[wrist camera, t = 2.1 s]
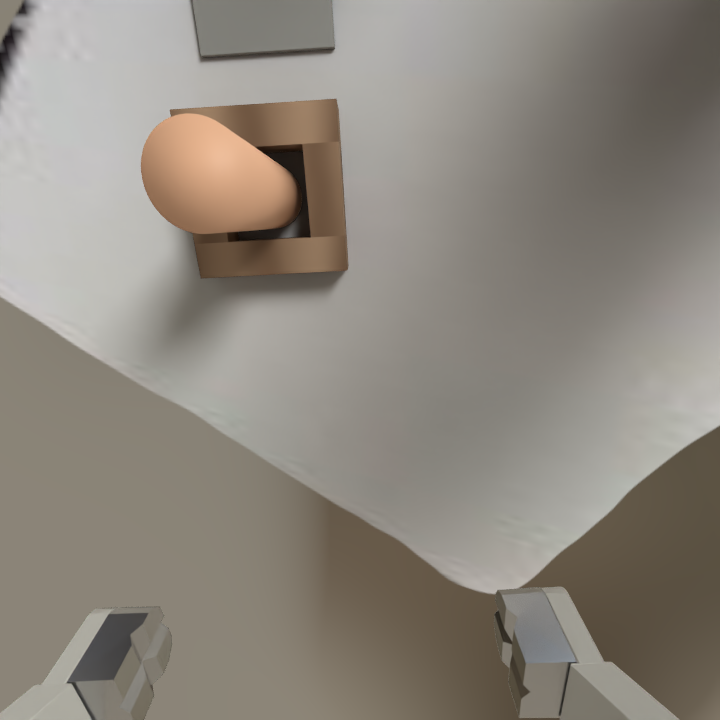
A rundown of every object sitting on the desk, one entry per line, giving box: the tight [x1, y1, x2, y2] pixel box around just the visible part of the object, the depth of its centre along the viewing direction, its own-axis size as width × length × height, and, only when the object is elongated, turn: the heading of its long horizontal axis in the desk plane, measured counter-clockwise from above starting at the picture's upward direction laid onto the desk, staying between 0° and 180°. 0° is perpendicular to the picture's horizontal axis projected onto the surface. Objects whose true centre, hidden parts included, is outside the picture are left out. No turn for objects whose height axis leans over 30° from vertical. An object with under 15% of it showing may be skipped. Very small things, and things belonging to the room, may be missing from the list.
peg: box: [141, 113, 302, 234], centre depth 26 cm, size 5×5×16 cm
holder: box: [170, 99, 348, 278], centre depth 32 cm, size 12×12×3 cm
